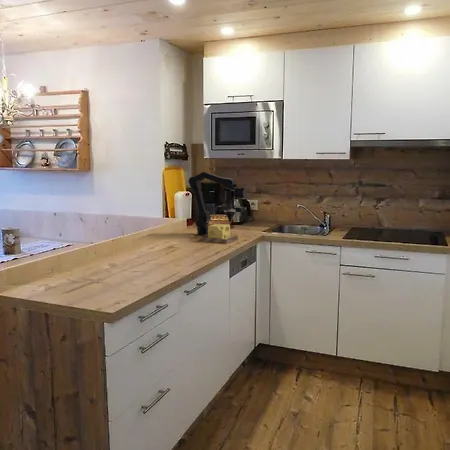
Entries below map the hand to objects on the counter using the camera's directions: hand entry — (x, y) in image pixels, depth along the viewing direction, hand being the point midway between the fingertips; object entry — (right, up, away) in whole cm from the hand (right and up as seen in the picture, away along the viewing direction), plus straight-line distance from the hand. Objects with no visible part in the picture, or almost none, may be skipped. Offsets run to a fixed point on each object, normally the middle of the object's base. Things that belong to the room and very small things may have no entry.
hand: (230, 221), depth 289 cm
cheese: (-7, -12, -12) cm, 19 cm away
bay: (-7, -12, -11) cm, 17 cm away
